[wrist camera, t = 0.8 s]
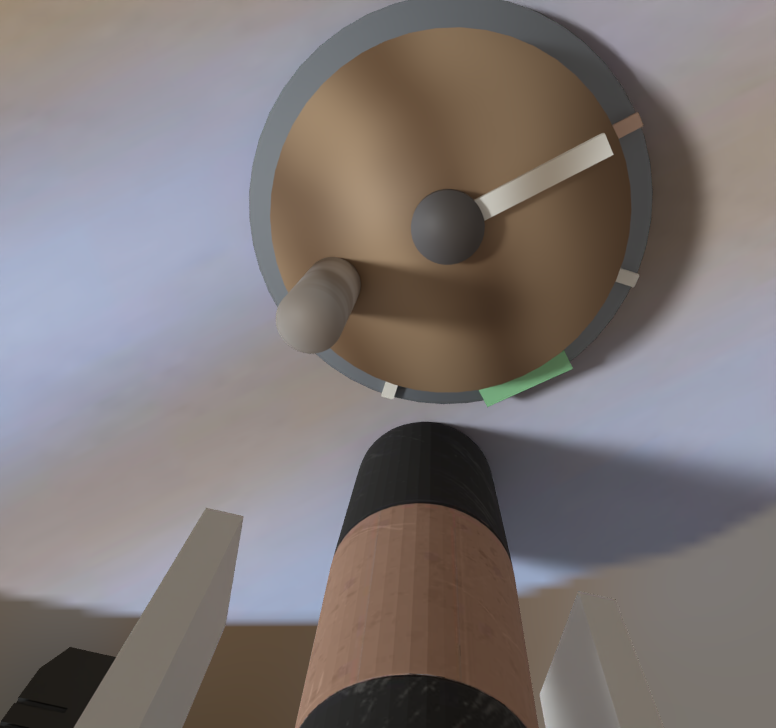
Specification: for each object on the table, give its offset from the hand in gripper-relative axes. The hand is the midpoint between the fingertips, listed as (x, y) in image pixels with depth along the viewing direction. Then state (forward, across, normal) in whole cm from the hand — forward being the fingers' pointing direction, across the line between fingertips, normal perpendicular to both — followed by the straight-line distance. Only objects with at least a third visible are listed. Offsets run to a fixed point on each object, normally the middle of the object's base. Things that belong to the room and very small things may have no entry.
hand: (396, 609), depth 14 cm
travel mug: (+21, +2, -8) cm, 23 cm away
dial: (+20, 0, +6) cm, 20 cm away
